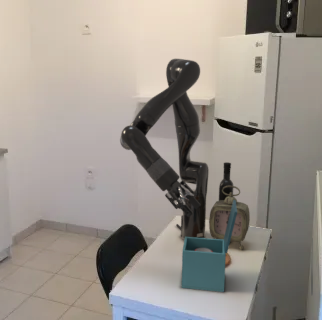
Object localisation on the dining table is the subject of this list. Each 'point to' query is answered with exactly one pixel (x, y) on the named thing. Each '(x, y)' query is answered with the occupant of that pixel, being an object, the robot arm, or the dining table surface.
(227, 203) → the tabletop clock
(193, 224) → the robot arm
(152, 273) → the dining table surface
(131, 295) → the dining table surface
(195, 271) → the teal open box
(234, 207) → the teal box lid
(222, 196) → the wine bottle
